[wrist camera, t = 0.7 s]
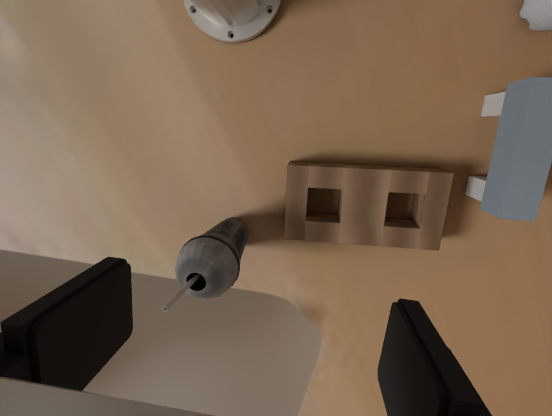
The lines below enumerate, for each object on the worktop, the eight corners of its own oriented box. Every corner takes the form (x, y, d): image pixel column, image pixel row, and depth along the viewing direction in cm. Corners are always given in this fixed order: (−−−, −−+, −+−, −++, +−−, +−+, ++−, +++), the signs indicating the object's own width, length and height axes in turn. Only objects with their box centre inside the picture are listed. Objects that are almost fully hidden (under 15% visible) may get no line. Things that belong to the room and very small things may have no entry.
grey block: (482, 88, 37) (534, 77, 28) (512, 89, 37) (574, 77, 28) (460, 199, 41) (500, 218, 32) (487, 201, 40) (535, 221, 32)
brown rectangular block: (286, 229, 45) (284, 239, 41) (289, 161, 42) (287, 164, 38) (427, 239, 43) (439, 250, 39) (440, 168, 40) (453, 173, 36)
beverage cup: (262, 250, 46) (226, 338, 27) (217, 257, 47) (152, 347, 28) (250, 204, 44) (204, 263, 25) (204, 213, 45) (126, 276, 26)
